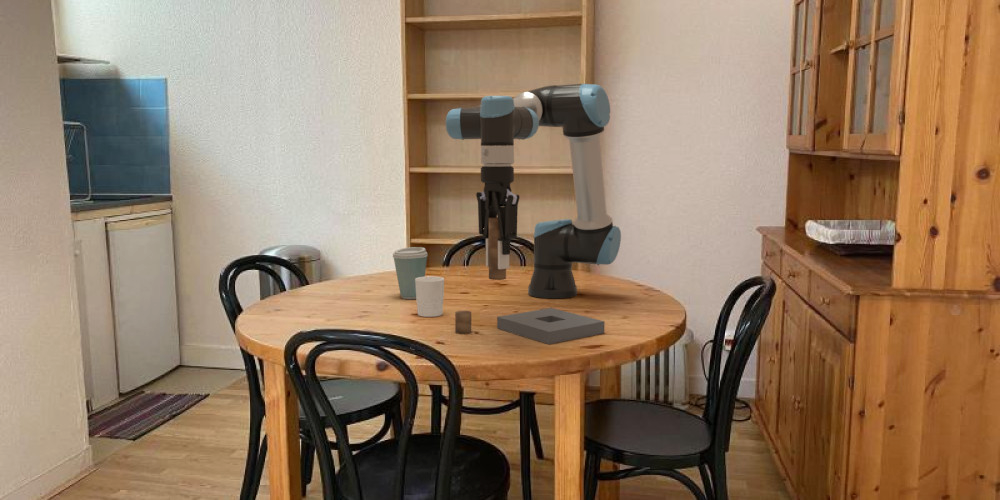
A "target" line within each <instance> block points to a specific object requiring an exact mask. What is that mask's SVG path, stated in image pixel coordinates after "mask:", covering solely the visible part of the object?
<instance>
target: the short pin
mask: <svg viewBox="0 0 1000 500" xmlns="http://www.w3.org/2000/svg"><path fill="white" fill-rule="evenodd" d="M454 313H455V314H454V315H455V317H454V318H455V319H454V322H455V324H454V325H455V326H454V327H455V328H454V331H455V333H456V334H459V335H469V334H471V333H472V311H470V310H457V311H455V312H454Z"/></svg>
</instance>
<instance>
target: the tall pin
mask: <svg viewBox="0 0 1000 500" xmlns="http://www.w3.org/2000/svg"><path fill="white" fill-rule="evenodd" d="M499 238H500V232H499V224H498V216H497V217H492V218H489V267H488V279H489V280H493V281H501V280H502V281H503V280H506V279H507V269H498V239H499Z"/></svg>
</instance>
